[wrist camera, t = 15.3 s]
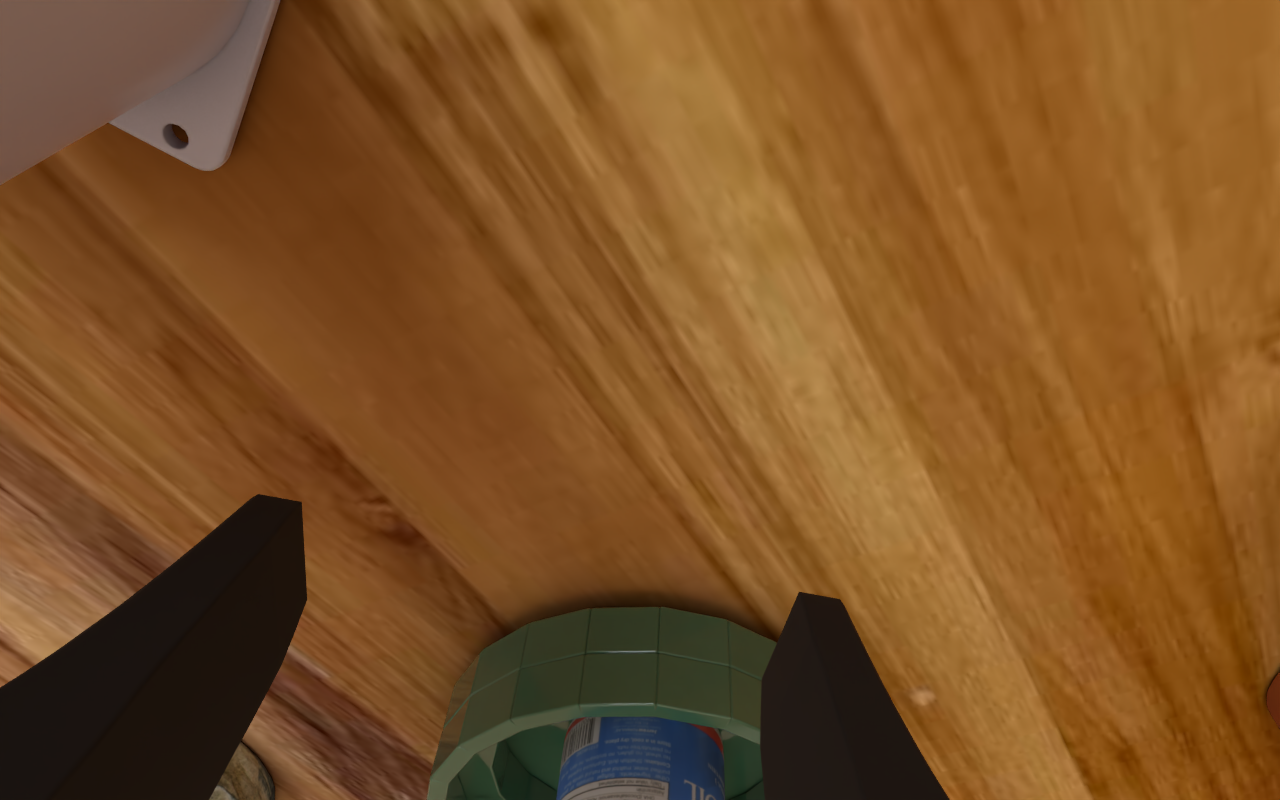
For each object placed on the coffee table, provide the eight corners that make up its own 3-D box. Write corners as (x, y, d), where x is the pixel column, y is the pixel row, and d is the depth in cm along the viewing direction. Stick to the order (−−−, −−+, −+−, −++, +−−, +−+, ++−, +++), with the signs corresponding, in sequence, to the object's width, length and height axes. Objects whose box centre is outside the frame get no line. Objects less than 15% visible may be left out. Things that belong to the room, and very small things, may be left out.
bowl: (397, 745, 32) (363, 855, 28) (567, 528, 25) (548, 641, 22) (698, 855, 35) (698, 964, 32) (920, 692, 28) (949, 810, 25)
